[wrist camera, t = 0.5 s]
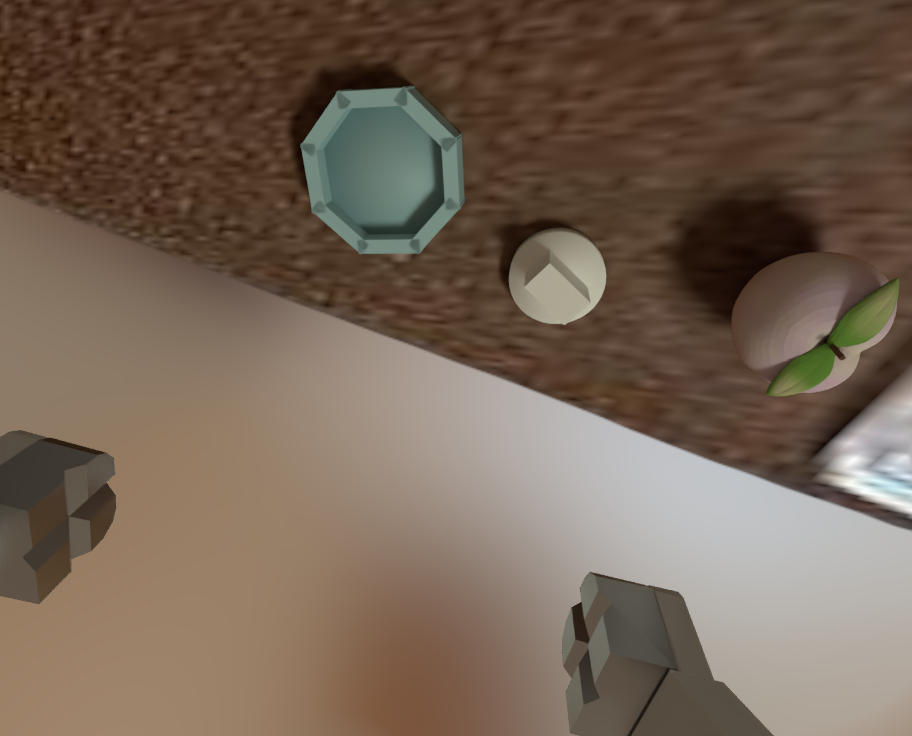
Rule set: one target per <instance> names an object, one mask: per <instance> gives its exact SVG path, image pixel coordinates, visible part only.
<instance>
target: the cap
mask: <svg viewBox="0 0 912 736" xmlns="http://www.w3.org/2000/svg"><path fill="white" fill-rule="evenodd" d="M605 283H606V270H605V265H604V262H603V258H602V255H601V253H600V251H599V249H598V248H597V246H596V245H595V244H594V242H593V241H592V240H591V239H589V238H588V237H587V236H585V235H584V234H582V233H580V232H578V231H576V230H573V229H568V228H549V229H545V230H542V231H539V232H537V233H535V234H533V235H532V236H530V237H529V238H527V239H526V240H525V241H524V242H523V243H522V244H521V245H520V246H519V248H518V249H517V251H516V253H515V254H514V256H513V259H512V262H511V267H510V272H509V287H510V292H511V295H512V297H513V299H514V301H515V303H516V304H517V305H518V307H519V308H520V309H521V310H522V311H523V312H524V313H525V314H527V315H528V316H530V317H531V318H533V319H535V320H538V321H541V322H544V323H550V324H562V323H563V324H564V325H565V324H567V323H568V322H571V321H574V320H576V319H579V318H581V317H582V316H584V315H585V314H587V313H588V312H589V311H590V310H592V309H593V308H594V306H595V305H596V304H597V303H598V301H599V300H600V298H601V296H602V294H603V291H604V288H605Z"/></svg>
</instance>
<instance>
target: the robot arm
mask: <svg viewBox="0 0 912 736" xmlns="http://www.w3.org/2000/svg"><path fill="white" fill-rule="evenodd" d="M114 475H115V468H114V458H113V457H112V456H110V455H109V454H108V453H105V452H102V451H98V450H94V449H90V448H87V447H83V446H79V445H76V444H72V443H68V442H65V441H61V440H57V439H54V438H47V437H44V436H40V435H37V434H33V433H29V432H26V431H21V430H19V431H11V432H8V433H6V434H5V435H3V436H1V437H0V596H4V597H8V598H13V599H17V600H22V601H27V602H32V603H36V604H40V603H41V602H42V601H43V600H44V599H45V598H46V597H47V596H48V595H49V593H51V592H52V590H53V589H54V588H55V587H56V586H57V585H58V584H59V583H60V582H61V581H62V580H63V579H64V578H65V577H66V576H67V575H68V574H69V573H70V572H71V566H72V559H73V558H75V557H78V556H80V555H83V554H85V553H88V552H90V551H92V550H93V549H94V548H95V547H96V546H97V545H98V543H99V542H100V541H101V540H102V539H103V538H104V536H105V534H106V532H107V531H108V529H109V527H110V526H111V524H112V522H113V519H114V514H115V510H116V495H115V494H114V493H113V491H112V490H111V488H110V487H109V486H108V484H107V482H108V481H109V480H110V479H111V477H113V476H114ZM580 592H581V600H582V602H580V603H579V604H577V605H575V606H573V607H572V608H571V610H570V613H569V615H568V618H567V620H566V624H565V628H564V634H563V640H562V657H563V667H564V668H565V669H566V671H567V672H568V674H569V675H570V677H571V678H572V679H571V682H570V684H569V686H568V688H567V690H566V699H567V709H568V719H569V728H570V733H572V734H576V735H580V736H773V735H772V734H771V732H770V731H769V730H768V729H767V728H766V727H765V726H764V725H763V724H762V723H761V722H760V721H759V720H758V719H757V718H756V717H755V716H754V715H753V714H752V712H751V711H750V710H749V709H748V708H747V707H746V706H745V705H744V704H743V703H742V702H741V701H740V700H739V699H738V698H737V696H736V695H735V694H734V693H733V692H732V691H731V690H730V689H729V688H728V687H727V686H726V685H725V684H724V683H723V682H719V681H715V680H714V678H713V676H712V673H711V671H710V668H709V665H708V662H707V660H706V657H705V654H704V652H703V649H702V646H701V644H700V641H699V638H698V636H697V633H696V630H695V628H694V625H693V622H692V620H691V617H690V614H689V612H688V609H687V607H686V603H685V601H684V598H683V597H682V596H681V595H680V593H679V592H676V591H672V590H667V589H663V588H659V587H654V586H650V585H649V586H646V585H643V584H639V583H635V582H630V581H626V580H622V579H618V578H613V577H609V576H605V575H601V574H596V573H592V572H590V573H589V574H588V575H587V576H586V577H585V578H584V581H583V583H582V585H581V587H580Z"/></svg>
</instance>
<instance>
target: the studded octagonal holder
mask: <svg viewBox="0 0 912 736" xmlns="http://www.w3.org/2000/svg"><path fill="white" fill-rule="evenodd" d="M300 147H301V149H302V155H303V161H304V167H305V172H306V178H307V184H308V189H309V195H310V201H311V207H312V210H311V211H312V212H313V213H315V214H316V215H317V216H318V217H319V218H320V219H322V220H323V221H324V222H325V223H326V224H327V225H328V226H329V227H331V228H332V229H333V230H334V231H335V232H336V233H337V234H339V235H340V236H341V237H342V238H343V239H344V240H345V241H346V242H348V243H349V244H350V245H351V246H352V247H353V248H354V249H356V250H357V251H358V252H359V254H372V253H417V254H419V253H421V252H422V250H423V249H424V247H425V246H426V245H427V244H428V243H429V242H430V240H431V239H432V238H433V237H434V236H435V235H436V234H437V233H438V232H439V231H440V229H441V228H442V227H443V226H444V225H445V224H446V223H447V222H448V221H449V219H450V218H451V217H452V216H453V215H454V214H455V213H456V212H457V211H458V210H460V209H461V207H462V205H463V204H464V202H465V198H464V179H463V156H462V134H461V133H459V132H458V131H457V130H456V129H455V128H454V127H453V126H452V125H451V124H450V123H449V122H448V121H447V120H446V119H445V118H444V117H443V116H442V115H441V114H440V113H439V112H438V111H437V110H436V109H435V108H434V107H433V106H432V105H431V104H430V103H429V102H428V101H427V100H426V99H425V98H424V97H423V96H422V95H421V94H420V93H419V92H418V91H417V90H416V89H415V86H412V85H410V86H404V87H393V88H375V89H357V90H352V89H344V90H339V91H338V92H336V95H335V96H334V98H333V99H332V101H331V102H330V104H329V105H328V107H327V108H326V109H325V111H324V112H323V114H322V115H321V117H320V118H319V120H318V121H317V123H316V124H315V126H314V127H313V128H312V130H311V131H310V133H309V134H308V136H307V137H306V139H305V140H304V142H303V143H301V146H300Z"/></svg>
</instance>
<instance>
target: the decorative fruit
mask: <svg viewBox="0 0 912 736" xmlns="http://www.w3.org/2000/svg"><path fill="white" fill-rule="evenodd" d="M898 293H899V278H896V279H893V280H891V281H888V279H887V278H886V277H885V276H884V275H883V274H882V273H881V272H880V271H879V270H878V269H877V268H875V267H874V266H873V265H871V264H870V263H868V262H866V261H864V260H862V259H860V258H857V257H854V256H850V255H845V254H840V253H832V252H810V253H802V254H797V255H792V256H789V257H786V258H783V259H781V260H778V261H776V262H774V263H772V264H770V265H768V266H766V267H765V268H763V269H762V270H760V271H759V272H758V273H757V274H755V275H754V276H753V277H752V278H751V280H750V281H749V282H748V283H747V284H746V286H745V287H744V288H743V290H742V291H741V293H740V295H739V296H738V298H737V300H736V302H735V305H734V307H733V311H732V319H731V330H732V338H733V342H734V345H735V348H736V350H737V353H738V354H739V356H740V358H741V359H742V360H743V362H744V363H745V364H746V365H747V366H748V367H749V368H750V369H751V370H752V371H754V372H755V373H756V374H757V375H759V376H760V377H762V378H763V379H765V380H766V381H768V382H769V383H771V384H770V385H769V387H768V389H767V392H766V395H769V396H787V395H792V394H797V393H812V392H819V391H823V390H827V389H830V388H832V387H834V386H836V385H838V384H840V383H842V382H843V381H844V380H846V379H847V378H848V377H849V376H850V375H851V374H852V373H853V372H854V370H855V368H856V367H857V364H858V361H859V356H860V353H861V351H863V350H865V349H867V348H870V347H871V346H873V345H875V344H877V343H878V342H879V341H880V340H882V339H883V338H884V336H885V335H886V334H887V333H888V332H889V330H890V328H891V326H892V324H893V321H894V318H895V315H896V308H897V299H898Z"/></svg>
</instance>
